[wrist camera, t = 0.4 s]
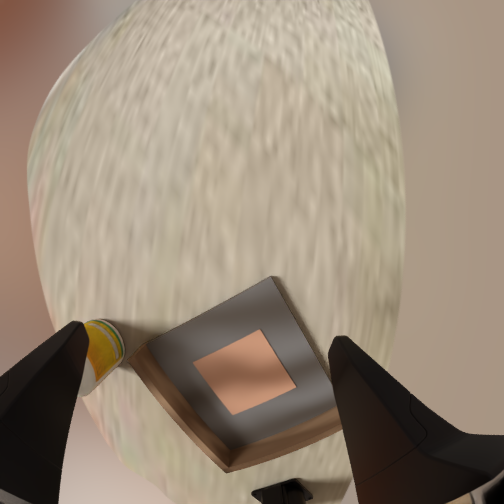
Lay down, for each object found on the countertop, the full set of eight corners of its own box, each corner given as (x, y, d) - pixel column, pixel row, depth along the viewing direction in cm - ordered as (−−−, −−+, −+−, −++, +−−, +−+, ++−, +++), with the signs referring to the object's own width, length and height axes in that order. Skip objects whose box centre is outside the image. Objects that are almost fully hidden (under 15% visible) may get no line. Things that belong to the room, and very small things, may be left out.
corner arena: (343, 404, 24) (352, 423, 21) (228, 452, 25) (226, 473, 21) (270, 275, 23) (273, 283, 20) (141, 344, 24) (127, 359, 20)
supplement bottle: (117, 374, 24) (71, 423, 15) (79, 345, 24) (25, 382, 14) (133, 337, 24) (82, 384, 14) (92, 307, 24) (30, 337, 14)
